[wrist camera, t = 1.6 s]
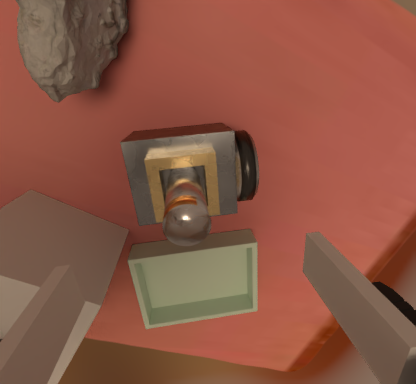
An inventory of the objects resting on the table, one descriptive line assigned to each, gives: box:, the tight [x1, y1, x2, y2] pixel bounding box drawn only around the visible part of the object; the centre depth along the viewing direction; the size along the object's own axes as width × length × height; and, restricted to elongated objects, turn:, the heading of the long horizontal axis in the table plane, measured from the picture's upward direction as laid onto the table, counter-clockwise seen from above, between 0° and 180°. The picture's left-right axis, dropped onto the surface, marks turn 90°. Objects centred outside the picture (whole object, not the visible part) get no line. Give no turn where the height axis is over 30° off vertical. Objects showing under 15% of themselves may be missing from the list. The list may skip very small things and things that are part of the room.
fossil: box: [16, 0, 129, 102], centre depth 20 cm, size 17×7×15 cm, turn 158°
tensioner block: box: [120, 123, 259, 226], centre depth 29 cm, size 15×10×10 cm, turn 95°
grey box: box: [0, 190, 129, 384], centre depth 26 cm, size 15×18×25 cm
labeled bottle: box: [162, 167, 211, 246], centre depth 22 cm, size 4×4×10 cm
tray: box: [127, 229, 257, 329], centre depth 40 cm, size 20×15×4 cm
